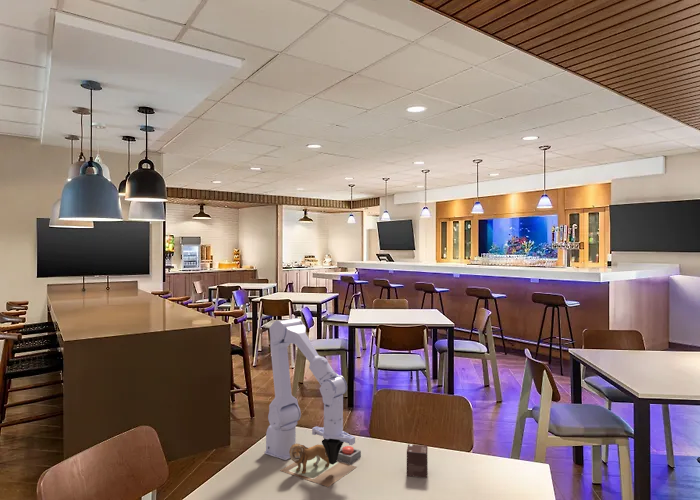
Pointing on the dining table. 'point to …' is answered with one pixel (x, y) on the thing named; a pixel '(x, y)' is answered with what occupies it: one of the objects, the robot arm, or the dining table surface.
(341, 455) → the button housing
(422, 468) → the box
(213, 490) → the dining table surface
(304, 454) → the lion figurine
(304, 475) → the picture sheet
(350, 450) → the button
